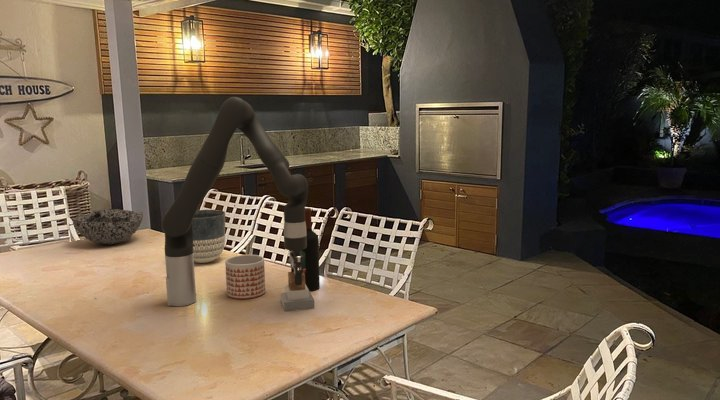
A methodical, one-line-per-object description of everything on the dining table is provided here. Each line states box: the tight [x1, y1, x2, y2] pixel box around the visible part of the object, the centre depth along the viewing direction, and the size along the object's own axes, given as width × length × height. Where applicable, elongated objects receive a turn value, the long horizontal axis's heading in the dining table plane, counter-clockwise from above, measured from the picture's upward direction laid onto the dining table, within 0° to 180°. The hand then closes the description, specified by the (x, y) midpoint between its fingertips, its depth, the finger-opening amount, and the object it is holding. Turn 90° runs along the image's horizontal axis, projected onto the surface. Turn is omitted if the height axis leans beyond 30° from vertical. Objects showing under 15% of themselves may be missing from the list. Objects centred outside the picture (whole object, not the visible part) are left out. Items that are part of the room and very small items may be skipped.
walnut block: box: [287, 271, 305, 291], centre depth 184 cm, size 5×5×5 cm
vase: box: [224, 254, 266, 300], centre depth 197 cm, size 14×14×13 cm
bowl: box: [72, 208, 144, 246], centre depth 273 cm, size 31×31×15 cm
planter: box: [192, 209, 226, 264], centre depth 238 cm, size 20×20×21 cm
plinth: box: [280, 284, 315, 312], centre depth 185 cm, size 10×10×6 cm
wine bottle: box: [298, 207, 320, 292], centre depth 200 cm, size 8×8×30 cm
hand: (296, 281), depth 184 cm, fingers open, 8 cm apart
